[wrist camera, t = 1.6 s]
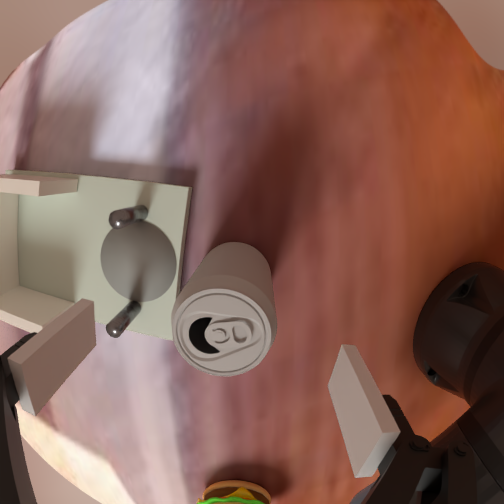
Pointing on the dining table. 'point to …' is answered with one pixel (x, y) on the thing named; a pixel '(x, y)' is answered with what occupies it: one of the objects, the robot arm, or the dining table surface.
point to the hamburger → (235, 493)
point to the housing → (6, 254)
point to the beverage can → (226, 312)
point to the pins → (133, 308)
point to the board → (106, 247)
